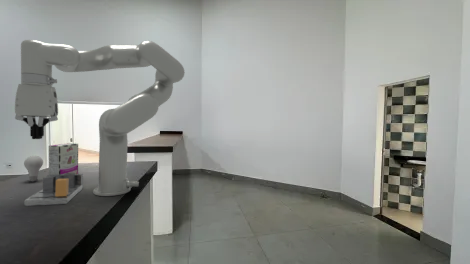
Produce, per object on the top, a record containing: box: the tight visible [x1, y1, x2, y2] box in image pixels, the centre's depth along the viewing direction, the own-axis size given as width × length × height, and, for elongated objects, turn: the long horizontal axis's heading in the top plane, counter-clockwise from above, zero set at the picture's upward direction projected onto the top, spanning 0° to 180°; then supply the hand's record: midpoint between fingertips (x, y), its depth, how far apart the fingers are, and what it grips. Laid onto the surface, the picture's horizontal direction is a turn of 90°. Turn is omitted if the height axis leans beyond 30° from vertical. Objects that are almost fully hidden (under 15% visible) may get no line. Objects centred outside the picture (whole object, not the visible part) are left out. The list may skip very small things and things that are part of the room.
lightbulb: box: [23, 155, 44, 182], centre depth 99 cm, size 6×6×11 cm
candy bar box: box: [48, 142, 79, 175], centre depth 99 cm, size 11×5×16 cm, turn 179°
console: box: [24, 173, 84, 207], centre depth 82 cm, size 11×18×7 cm, turn 19°
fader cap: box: [55, 178, 69, 197], centre depth 77 cm, size 3×2×5 cm
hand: (37, 138), depth 76 cm, fingers closed
